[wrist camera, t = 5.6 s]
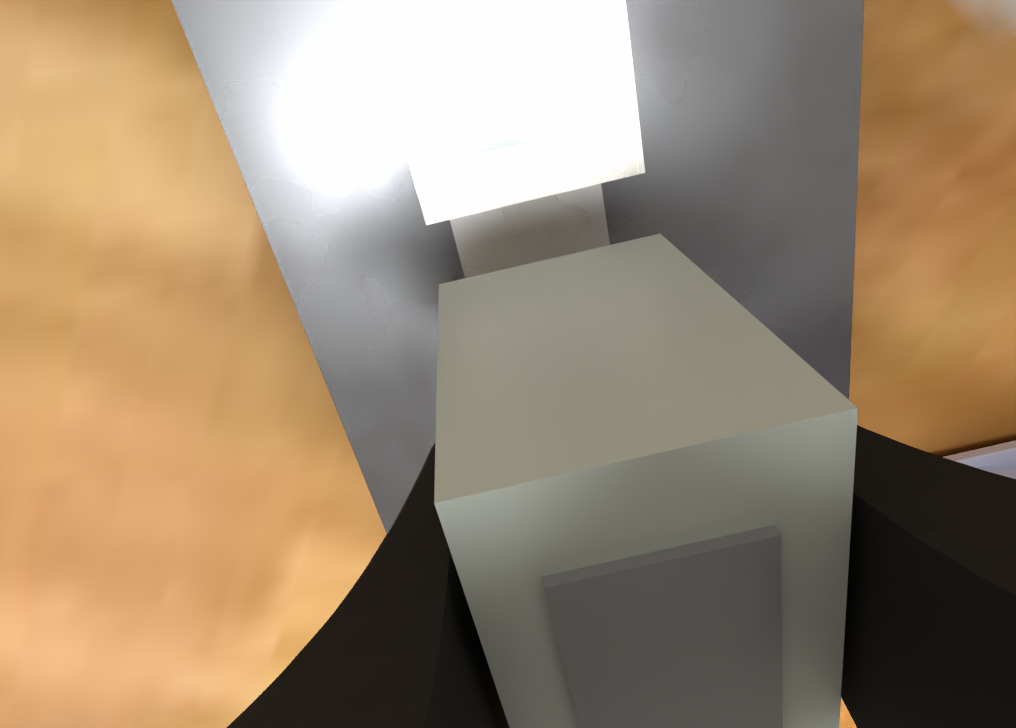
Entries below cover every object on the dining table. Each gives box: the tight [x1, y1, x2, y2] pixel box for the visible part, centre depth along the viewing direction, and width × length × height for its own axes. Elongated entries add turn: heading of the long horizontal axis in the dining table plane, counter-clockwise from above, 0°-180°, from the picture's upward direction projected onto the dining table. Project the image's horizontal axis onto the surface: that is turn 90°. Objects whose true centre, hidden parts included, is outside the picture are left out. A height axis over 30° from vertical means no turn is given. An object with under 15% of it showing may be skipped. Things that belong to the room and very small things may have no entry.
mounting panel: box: [172, 0, 864, 533], centre depth 15 cm, size 14×19×5 cm
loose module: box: [434, 234, 858, 728], centre depth 10 cm, size 4×6×6 cm, turn 12°
